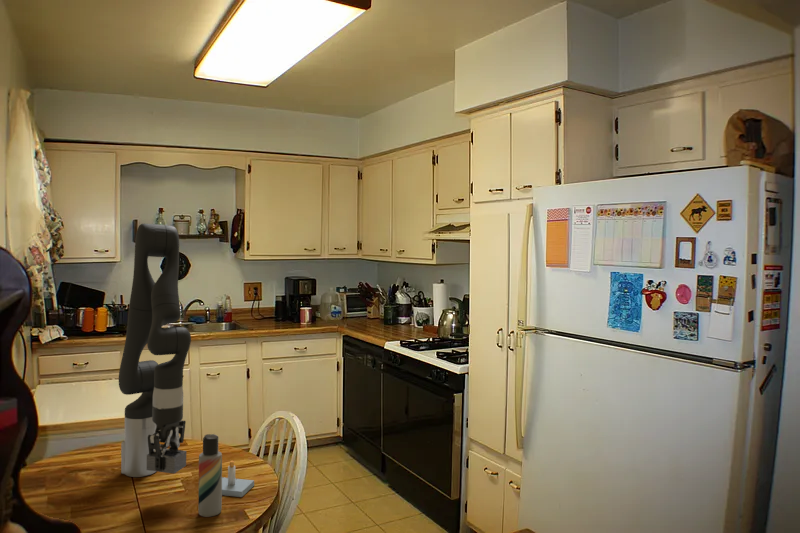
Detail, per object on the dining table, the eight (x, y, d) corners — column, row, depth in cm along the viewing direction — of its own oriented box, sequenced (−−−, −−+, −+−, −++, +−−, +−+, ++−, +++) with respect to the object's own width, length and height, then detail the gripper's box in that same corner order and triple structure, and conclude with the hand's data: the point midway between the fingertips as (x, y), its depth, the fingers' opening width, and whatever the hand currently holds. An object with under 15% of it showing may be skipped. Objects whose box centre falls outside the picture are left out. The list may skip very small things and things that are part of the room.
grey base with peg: (208, 493, 163) (208, 465, 163) (221, 482, 171) (221, 455, 171) (241, 497, 161) (242, 468, 161) (254, 485, 169) (254, 457, 169)
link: (146, 469, 154) (146, 454, 154) (159, 462, 160) (159, 447, 160) (174, 473, 153) (174, 458, 153) (186, 465, 158) (186, 450, 158)
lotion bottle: (201, 507, 155) (202, 431, 154) (223, 507, 155) (224, 431, 154) (195, 517, 149) (196, 439, 148) (218, 517, 149) (219, 438, 149)
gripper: (170, 394, 163) (169, 454, 164) (138, 409, 149) (136, 474, 150) (195, 397, 162) (194, 457, 163) (165, 412, 148) (163, 478, 149)
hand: (166, 465), depth 156 cm, fingers closed on link, 5 cm apart
